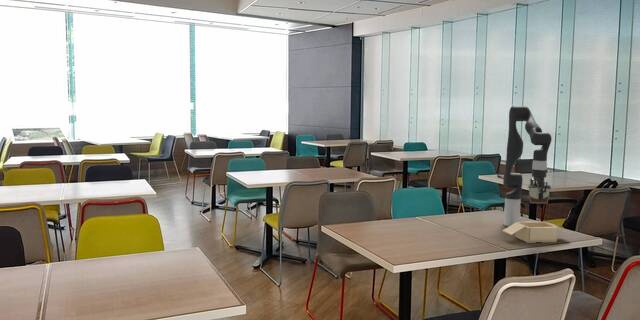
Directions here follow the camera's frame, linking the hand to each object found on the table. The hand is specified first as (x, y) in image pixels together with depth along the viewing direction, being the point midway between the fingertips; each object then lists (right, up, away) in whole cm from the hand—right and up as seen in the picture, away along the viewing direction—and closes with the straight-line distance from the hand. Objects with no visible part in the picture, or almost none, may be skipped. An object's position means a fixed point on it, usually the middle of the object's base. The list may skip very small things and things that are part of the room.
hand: (537, 198), depth 291 cm
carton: (0, -23, +2) cm, 23 cm away
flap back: (+9, -14, +3) cm, 17 cm away
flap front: (-9, -14, 0) cm, 17 cm away
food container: (0, -2, +1) cm, 2 cm away
